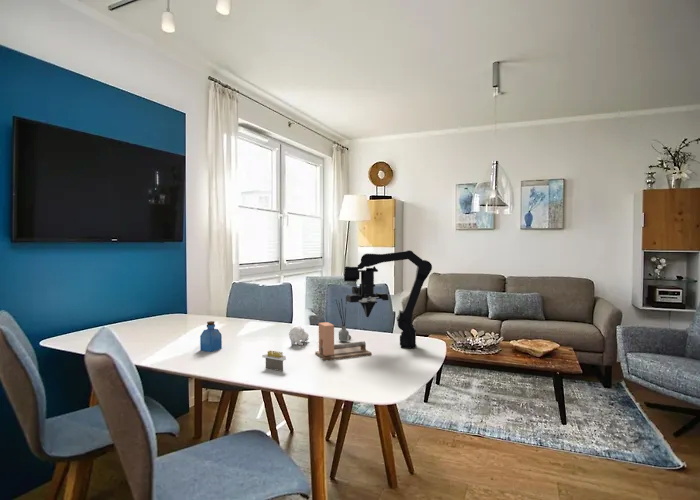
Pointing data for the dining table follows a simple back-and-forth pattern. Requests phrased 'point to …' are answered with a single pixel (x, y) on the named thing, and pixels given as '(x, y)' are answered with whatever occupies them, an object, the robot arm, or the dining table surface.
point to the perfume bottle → (210, 338)
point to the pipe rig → (346, 351)
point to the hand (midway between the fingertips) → (367, 316)
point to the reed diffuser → (343, 328)
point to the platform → (274, 360)
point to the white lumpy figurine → (298, 335)
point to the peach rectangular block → (326, 338)
